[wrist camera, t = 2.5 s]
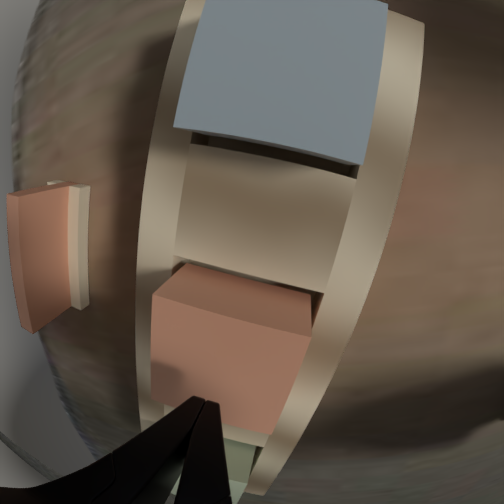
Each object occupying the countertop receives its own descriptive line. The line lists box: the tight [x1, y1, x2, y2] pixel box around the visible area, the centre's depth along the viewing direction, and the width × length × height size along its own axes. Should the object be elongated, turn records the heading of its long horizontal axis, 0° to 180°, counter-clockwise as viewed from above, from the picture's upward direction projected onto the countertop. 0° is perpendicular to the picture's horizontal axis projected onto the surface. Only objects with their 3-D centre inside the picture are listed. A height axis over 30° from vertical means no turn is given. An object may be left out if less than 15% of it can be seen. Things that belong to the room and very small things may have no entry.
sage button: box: [171, 437, 256, 504], centre depth 14 cm, size 5×5×3 cm
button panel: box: [135, 0, 425, 496], centre depth 14 cm, size 28×9×4 cm, turn 168°
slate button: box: [173, 0, 388, 165], centre depth 8 cm, size 5×5×3 cm
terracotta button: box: [151, 263, 312, 435], centre depth 11 cm, size 5×5×3 cm
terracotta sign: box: [7, 180, 90, 334], centre depth 14 cm, size 8×3×5 cm, turn 169°
